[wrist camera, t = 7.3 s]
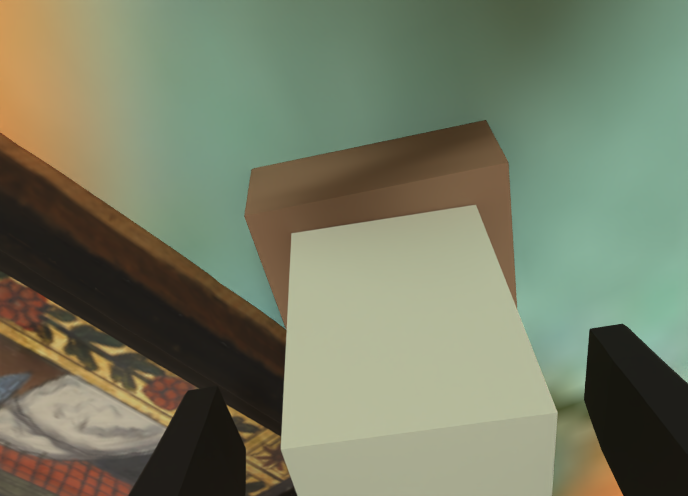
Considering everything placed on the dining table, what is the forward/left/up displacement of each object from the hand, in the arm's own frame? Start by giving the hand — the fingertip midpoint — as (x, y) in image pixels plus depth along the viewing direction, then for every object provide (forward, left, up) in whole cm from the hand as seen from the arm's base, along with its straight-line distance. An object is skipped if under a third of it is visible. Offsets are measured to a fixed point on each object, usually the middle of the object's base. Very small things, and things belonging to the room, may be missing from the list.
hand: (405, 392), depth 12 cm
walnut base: (0, 0, -5) cm, 5 cm away
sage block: (0, 0, -3) cm, 3 cm away
